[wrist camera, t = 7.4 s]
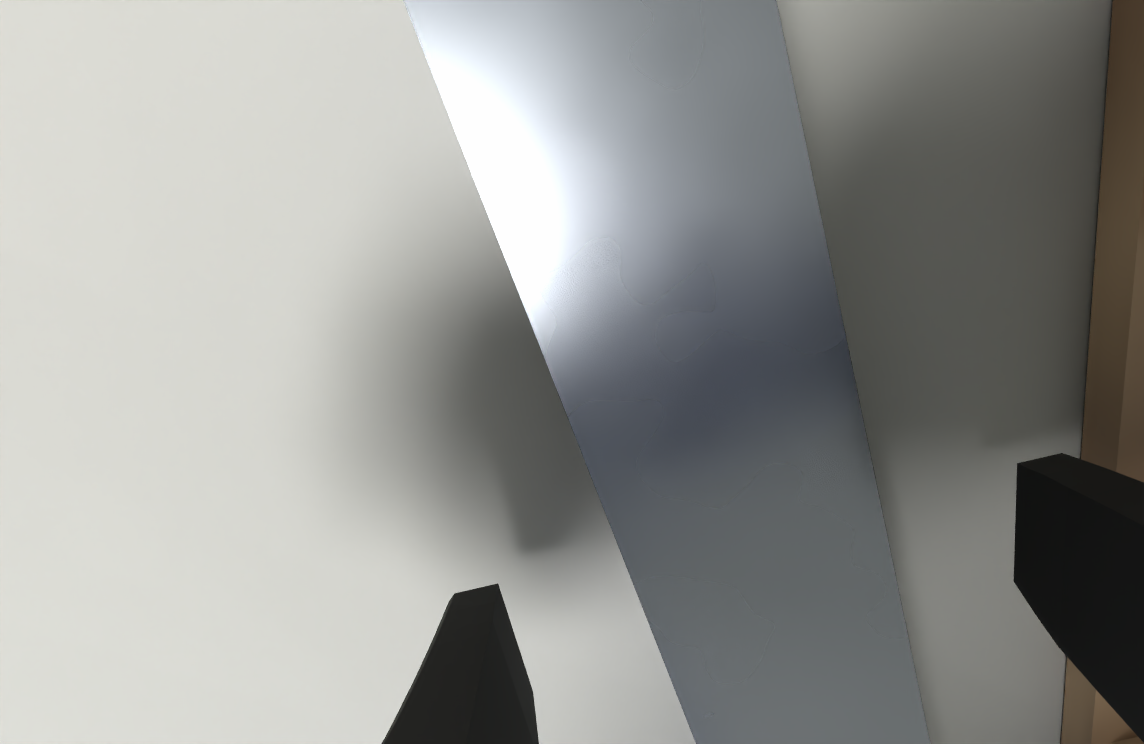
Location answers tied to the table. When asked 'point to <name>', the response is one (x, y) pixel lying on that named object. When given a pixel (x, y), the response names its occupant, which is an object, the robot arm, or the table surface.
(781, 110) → the rail
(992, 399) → the table surface
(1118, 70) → the rack
